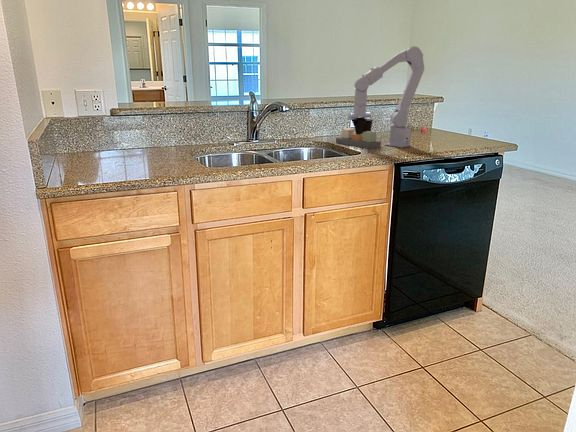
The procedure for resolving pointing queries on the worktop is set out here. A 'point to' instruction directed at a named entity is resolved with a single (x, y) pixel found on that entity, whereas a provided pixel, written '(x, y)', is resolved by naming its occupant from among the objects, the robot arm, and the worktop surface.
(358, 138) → the block terracotta
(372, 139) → the block sage
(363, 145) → the compartment tray
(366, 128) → the coffee mug
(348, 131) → the block cream
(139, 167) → the worktop surface
